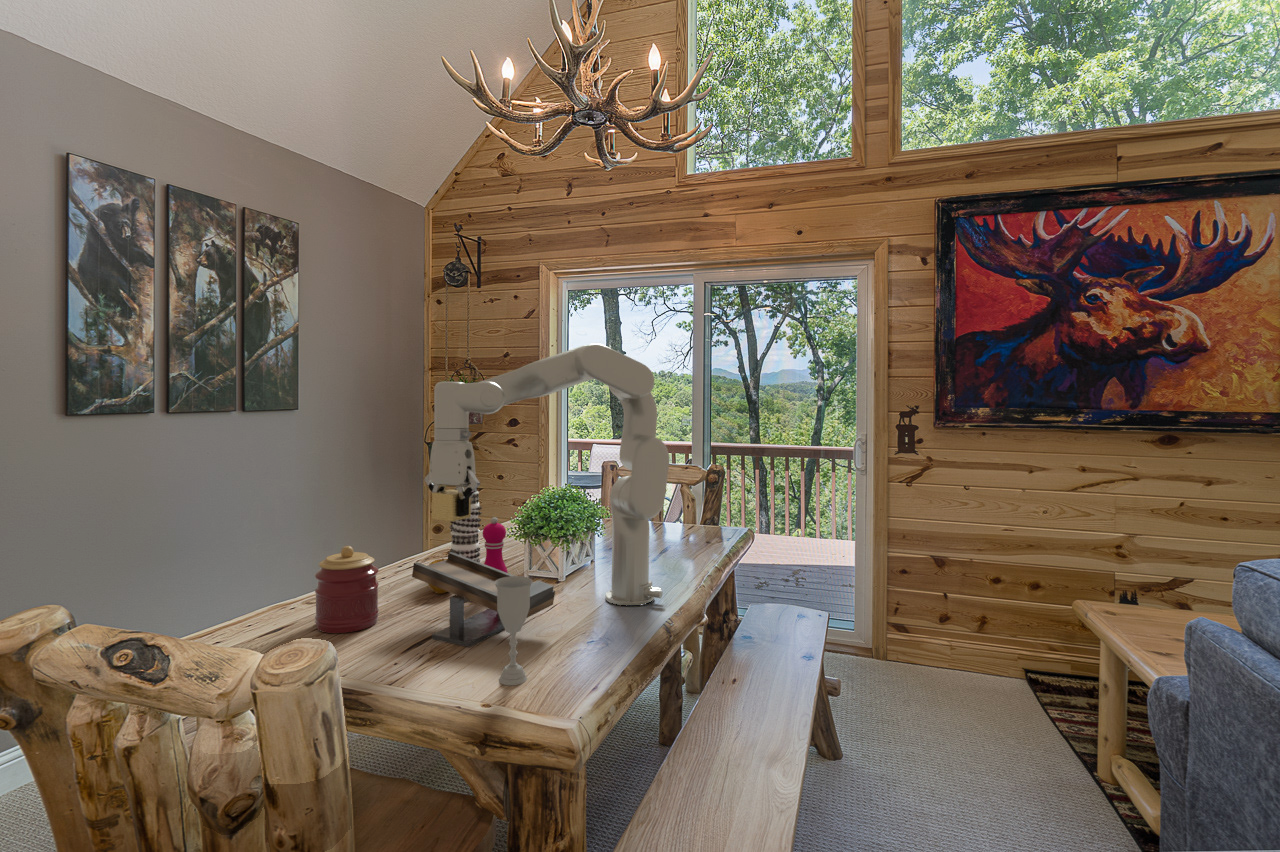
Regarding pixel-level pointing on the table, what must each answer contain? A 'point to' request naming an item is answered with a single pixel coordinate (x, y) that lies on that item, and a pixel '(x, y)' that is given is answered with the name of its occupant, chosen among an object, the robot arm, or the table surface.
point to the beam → (477, 582)
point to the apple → (435, 586)
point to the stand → (468, 625)
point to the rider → (447, 506)
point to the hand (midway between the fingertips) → (451, 513)
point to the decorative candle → (467, 532)
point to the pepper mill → (494, 544)
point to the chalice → (513, 620)
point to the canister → (346, 592)
